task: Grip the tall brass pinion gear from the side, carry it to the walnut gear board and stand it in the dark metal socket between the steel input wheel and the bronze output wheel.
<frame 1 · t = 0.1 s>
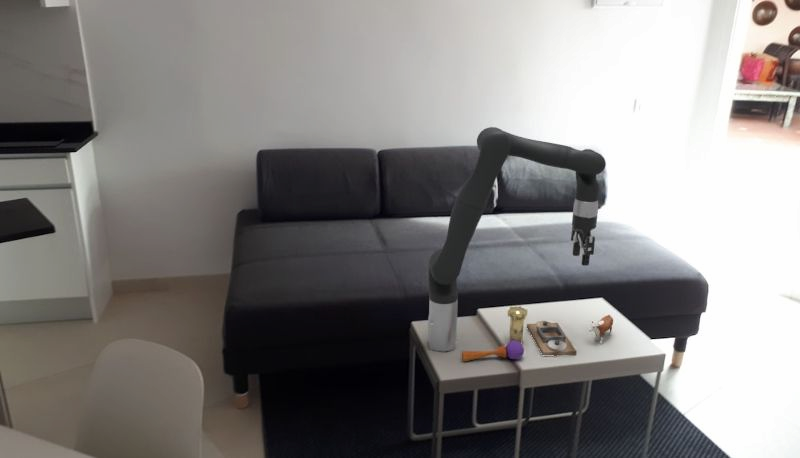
hand: (580, 260, 205), 29 cm above the table, tool pointing down, fingers open, 8 cm apart
brass pinion: (515, 342, 213), on the table
gear board: (550, 340, 213), on the table
bull figurine: (600, 339, 214), on the table
kendama: (492, 359, 203), on the table
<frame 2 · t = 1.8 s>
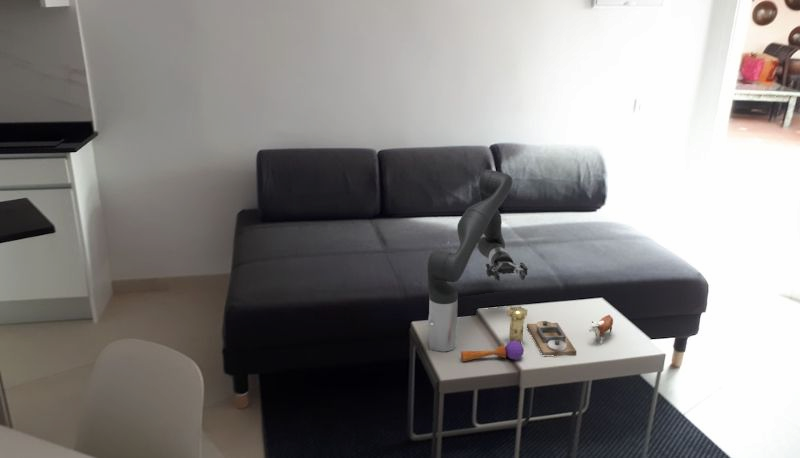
hand: (510, 277, 217), 19 cm above the table, tool horizontal, fingers open, 8 cm apart
nothing on the table moved.
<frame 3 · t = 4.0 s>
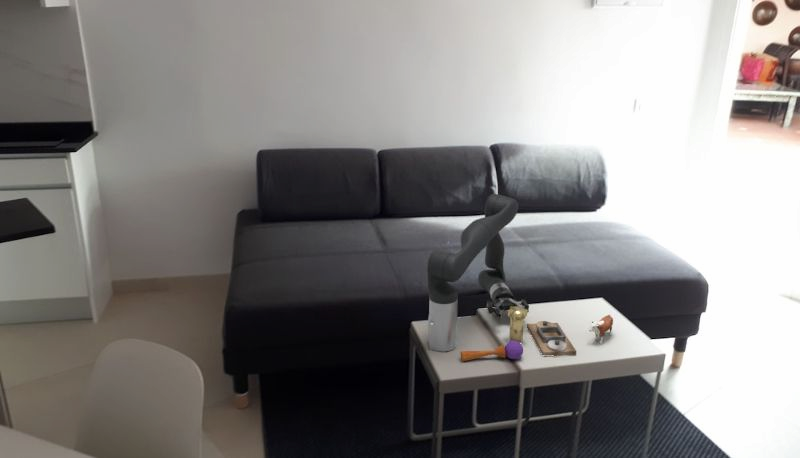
hand: (512, 315, 216), 7 cm above the table, tool horizontal, fingers open, 8 cm apart
nothing on the table moved.
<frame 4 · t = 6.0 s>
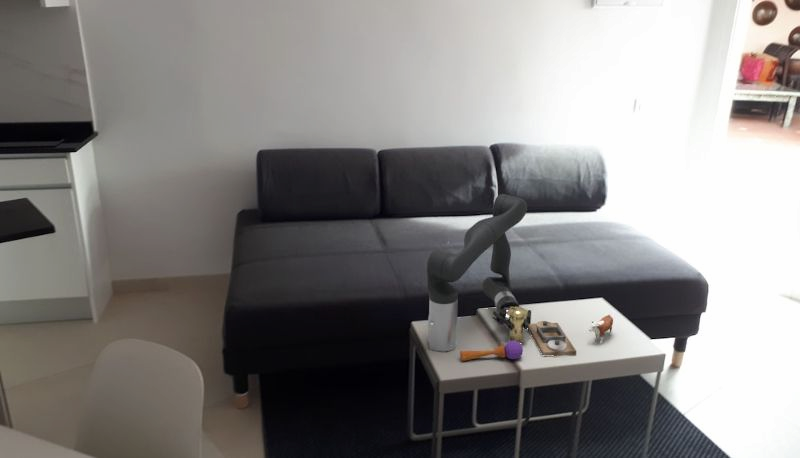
hand: (519, 327, 208), 7 cm above the table, tool horizontal, fingers closed on brass pinion, 4 cm apart
brass pinion: (515, 342, 213), on the table, touching gripper
everything else where it was.
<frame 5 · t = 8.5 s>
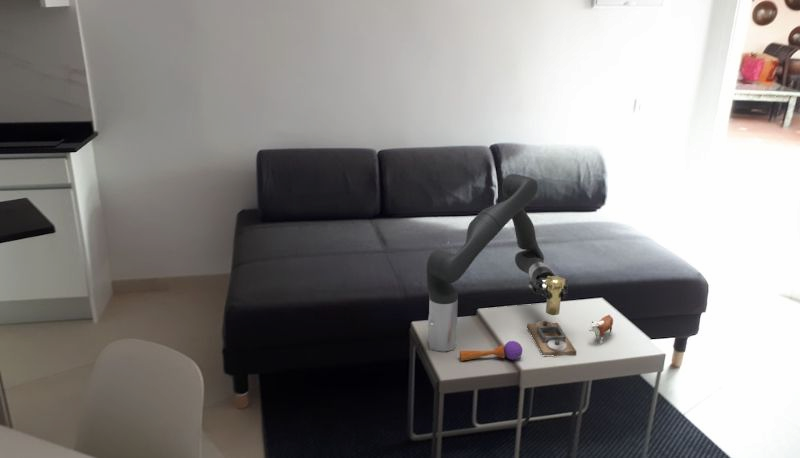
hand: (556, 296, 205), 18 cm above the table, tool horizontal, fingers closed on brass pinion, 4 cm apart
brass pinion: (552, 312, 210), point 11 cm above the table, touching gripper
everything else where it was.
when the fingers open (9 cm above the table, at t = 10.8 s): brass pinion stays where it is, resting on gear board.
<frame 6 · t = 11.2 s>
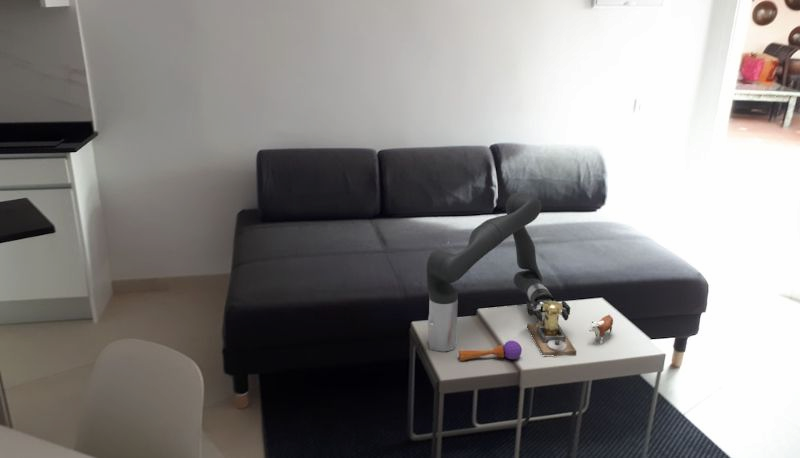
hand: (554, 318, 209), 10 cm above the table, tool horizontal, fingers open, 8 cm apart
brass pinion: (550, 336, 213), point 2 cm above the table, touching gear board
everything else where it was.
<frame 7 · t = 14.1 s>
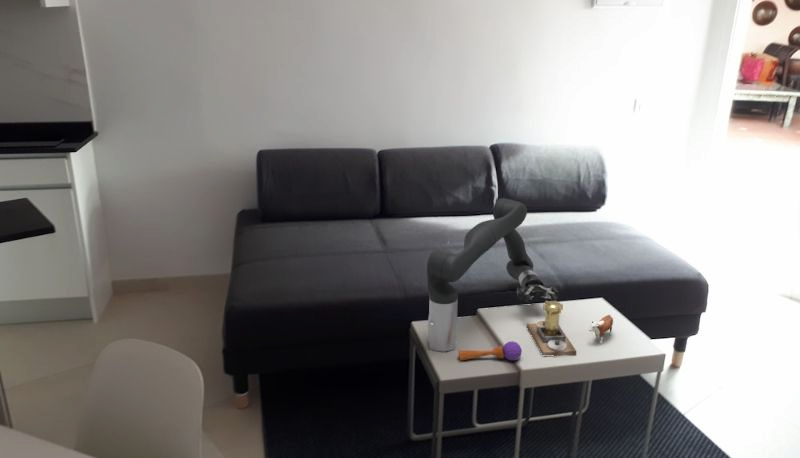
hand: (543, 301, 221), 10 cm above the table, tool horizontal, fingers open, 8 cm apart
nothing on the table moved.
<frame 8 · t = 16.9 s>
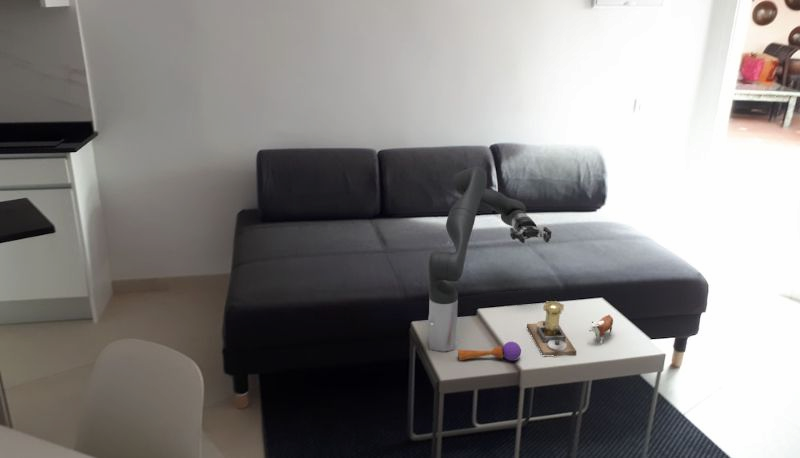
hand: (535, 240, 221), 30 cm above the table, tool horizontal, fingers open, 8 cm apart
at the end: brass pinion 0.1 cm off-centre on the gear board, point 1.5 cm above the gear board's base; brass pinion tilted 1°; the gripper is holding nothing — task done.
